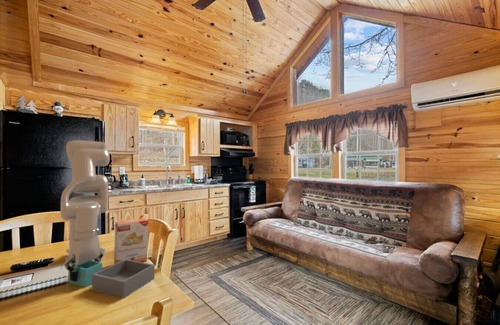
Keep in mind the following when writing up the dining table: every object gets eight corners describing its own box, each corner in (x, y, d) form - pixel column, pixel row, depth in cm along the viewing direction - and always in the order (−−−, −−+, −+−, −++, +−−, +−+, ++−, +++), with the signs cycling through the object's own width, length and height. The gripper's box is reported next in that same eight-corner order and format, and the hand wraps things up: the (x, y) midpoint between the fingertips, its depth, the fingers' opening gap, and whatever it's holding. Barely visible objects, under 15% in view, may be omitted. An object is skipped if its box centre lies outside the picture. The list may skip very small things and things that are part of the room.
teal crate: (68, 282, 99) (68, 265, 99) (84, 275, 106) (85, 259, 106) (85, 287, 96) (86, 269, 96) (101, 279, 102) (102, 262, 102)
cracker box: (116, 268, 113) (117, 223, 113) (113, 264, 117) (114, 221, 117) (147, 261, 121) (148, 219, 122) (144, 257, 126) (145, 217, 126)
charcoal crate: (91, 289, 94) (92, 274, 94) (125, 272, 109) (125, 259, 109) (123, 298, 89) (124, 281, 89) (154, 278, 104) (154, 264, 104)
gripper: (98, 228, 110) (97, 266, 110) (57, 239, 94) (56, 283, 94) (111, 230, 108) (110, 268, 108) (71, 241, 91) (70, 287, 91)
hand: (85, 275), depth 101 cm, fingers open, 9 cm apart
